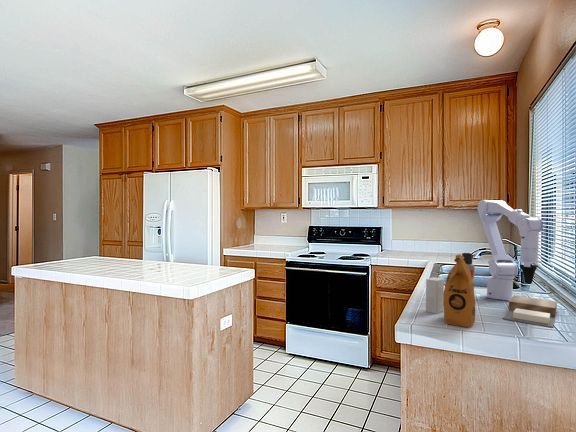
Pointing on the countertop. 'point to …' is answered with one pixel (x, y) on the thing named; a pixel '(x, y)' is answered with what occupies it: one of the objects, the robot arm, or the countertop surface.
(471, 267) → the lotion bottle
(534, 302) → the board
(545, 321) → the block
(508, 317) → the mat
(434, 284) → the skincare box
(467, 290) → the coffee package
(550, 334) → the countertop surface
